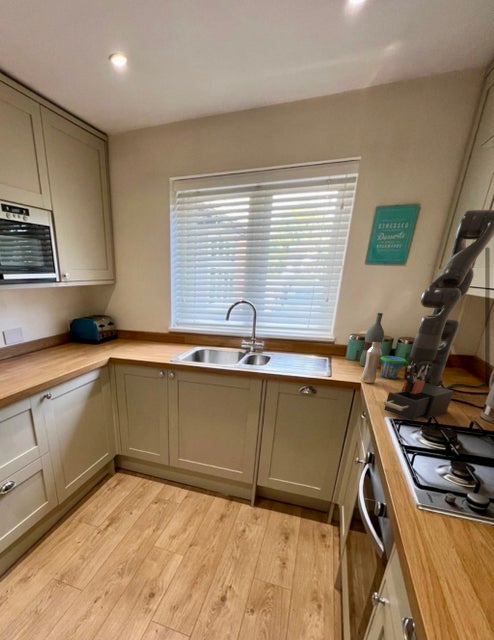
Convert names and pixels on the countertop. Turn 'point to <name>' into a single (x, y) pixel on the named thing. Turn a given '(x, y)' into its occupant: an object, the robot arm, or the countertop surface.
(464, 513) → the countertop surface
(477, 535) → the countertop surface
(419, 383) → the block
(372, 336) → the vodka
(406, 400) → the drawer
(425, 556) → the countertop surface
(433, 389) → the cabinet
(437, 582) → the countertop surface
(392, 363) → the snack cup
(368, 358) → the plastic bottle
